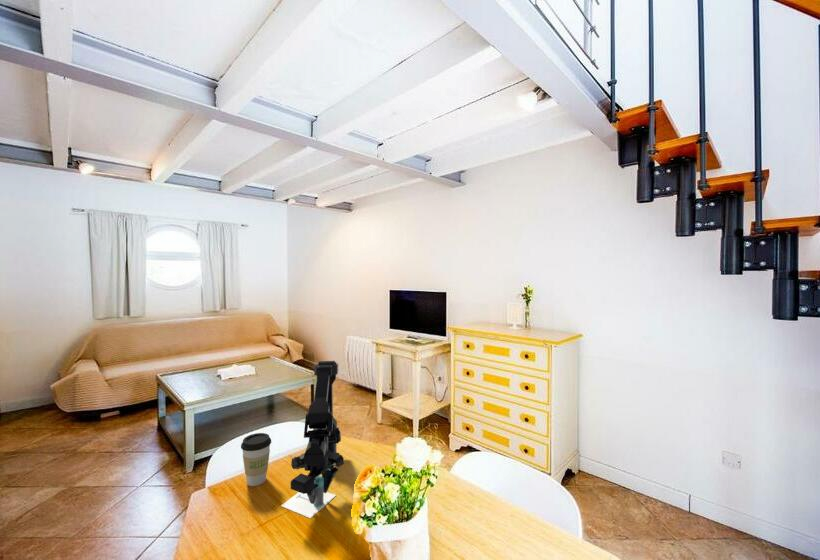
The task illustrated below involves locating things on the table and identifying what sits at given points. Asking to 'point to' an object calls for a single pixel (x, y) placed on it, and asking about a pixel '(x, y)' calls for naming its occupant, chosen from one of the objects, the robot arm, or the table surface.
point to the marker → (319, 492)
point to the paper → (305, 504)
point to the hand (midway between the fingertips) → (318, 497)
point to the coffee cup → (256, 457)
